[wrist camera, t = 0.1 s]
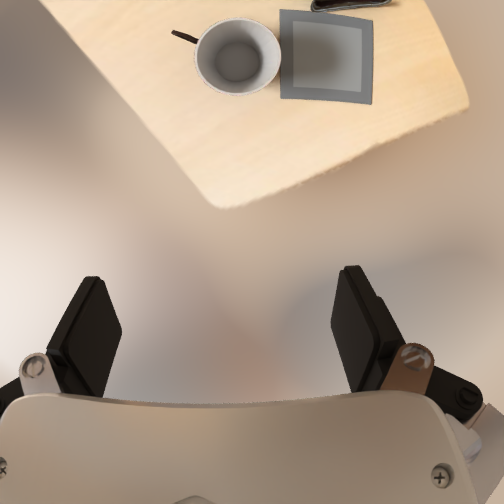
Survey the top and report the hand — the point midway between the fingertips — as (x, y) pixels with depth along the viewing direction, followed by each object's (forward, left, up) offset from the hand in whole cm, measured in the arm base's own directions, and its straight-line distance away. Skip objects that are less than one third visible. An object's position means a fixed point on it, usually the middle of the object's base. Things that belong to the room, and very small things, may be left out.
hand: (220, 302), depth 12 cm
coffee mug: (-12, 0, -33) cm, 35 cm away
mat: (-12, +13, -33) cm, 38 cm away
